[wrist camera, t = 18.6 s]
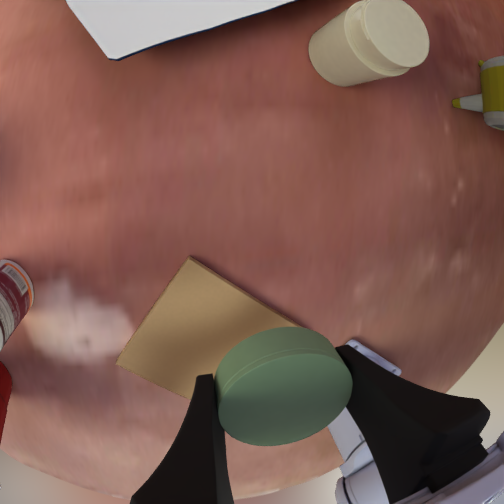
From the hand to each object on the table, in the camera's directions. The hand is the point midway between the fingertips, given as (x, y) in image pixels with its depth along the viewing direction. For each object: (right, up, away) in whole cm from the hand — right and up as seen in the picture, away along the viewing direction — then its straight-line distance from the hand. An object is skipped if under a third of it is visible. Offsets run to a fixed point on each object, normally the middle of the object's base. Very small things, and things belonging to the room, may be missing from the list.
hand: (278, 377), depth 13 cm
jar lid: (0, 0, -1) cm, 2 cm away
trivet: (-5, -2, +11) cm, 12 cm away
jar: (+5, +19, +5) cm, 20 cm away
